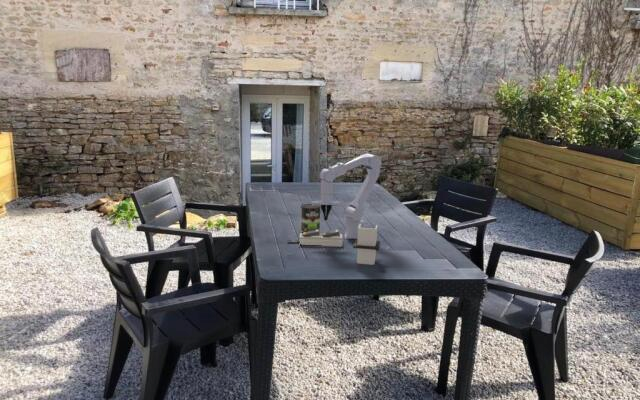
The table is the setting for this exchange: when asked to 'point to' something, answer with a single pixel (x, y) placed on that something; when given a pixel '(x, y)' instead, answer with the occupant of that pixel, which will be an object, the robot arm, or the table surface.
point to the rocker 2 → (331, 233)
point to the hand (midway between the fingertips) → (325, 219)
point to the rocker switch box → (321, 240)
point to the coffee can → (310, 217)
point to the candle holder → (366, 245)
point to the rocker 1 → (311, 233)
